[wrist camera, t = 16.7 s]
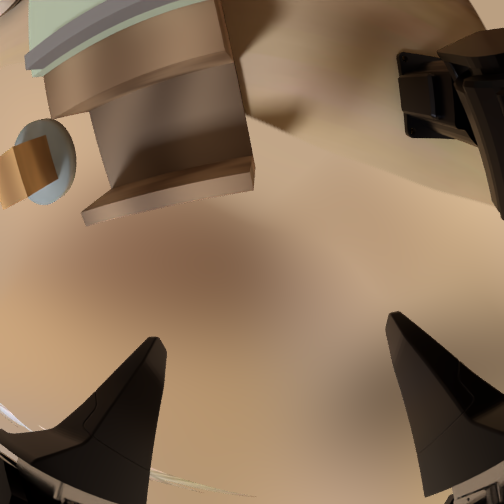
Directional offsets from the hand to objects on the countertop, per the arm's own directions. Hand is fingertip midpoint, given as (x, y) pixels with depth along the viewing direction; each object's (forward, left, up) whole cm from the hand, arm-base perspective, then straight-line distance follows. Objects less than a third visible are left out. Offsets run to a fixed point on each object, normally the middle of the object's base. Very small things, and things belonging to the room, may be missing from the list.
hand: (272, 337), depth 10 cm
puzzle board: (+6, -13, -12) cm, 18 cm away
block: (+18, -9, -11) cm, 22 cm away
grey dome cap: (+18, -9, -12) cm, 23 cm away
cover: (+6, -18, -7) cm, 20 cm away
